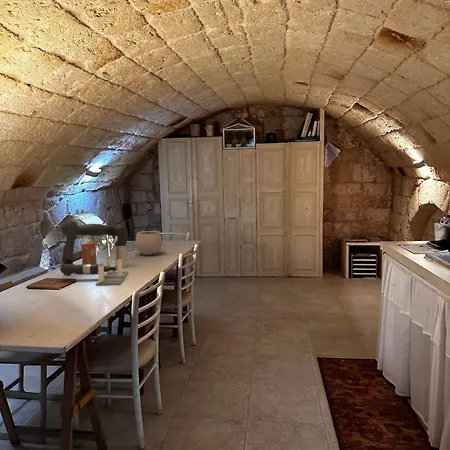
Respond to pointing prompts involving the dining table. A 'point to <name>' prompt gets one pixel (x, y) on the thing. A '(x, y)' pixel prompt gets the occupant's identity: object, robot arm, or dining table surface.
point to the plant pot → (148, 242)
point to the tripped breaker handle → (119, 267)
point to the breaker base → (109, 275)
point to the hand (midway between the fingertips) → (115, 268)
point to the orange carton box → (89, 253)
